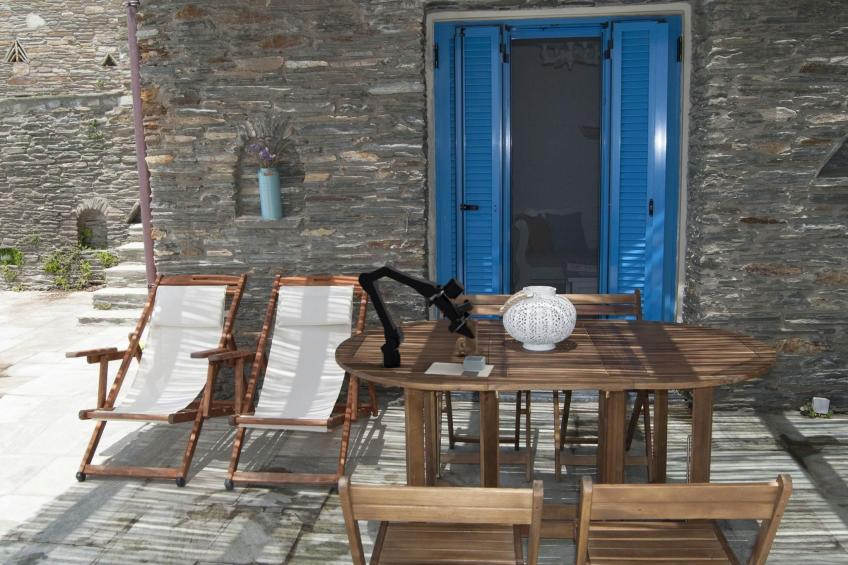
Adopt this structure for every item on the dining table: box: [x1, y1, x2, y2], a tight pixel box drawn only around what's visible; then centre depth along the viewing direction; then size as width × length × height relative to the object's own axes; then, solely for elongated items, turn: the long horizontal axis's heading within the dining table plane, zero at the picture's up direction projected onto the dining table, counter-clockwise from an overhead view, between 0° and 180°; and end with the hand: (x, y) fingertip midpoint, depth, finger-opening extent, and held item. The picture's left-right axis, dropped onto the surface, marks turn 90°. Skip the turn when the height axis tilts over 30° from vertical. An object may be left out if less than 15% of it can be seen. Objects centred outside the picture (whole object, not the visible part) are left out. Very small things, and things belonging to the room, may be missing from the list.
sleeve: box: [462, 355, 486, 371], centre depth 302 cm, size 7×7×4 cm
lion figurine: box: [455, 337, 468, 357], centre depth 322 cm, size 15×5×9 cm, turn 153°
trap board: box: [424, 361, 495, 378], centre depth 300 cm, size 24×16×1 cm, turn 76°
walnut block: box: [465, 318, 479, 356], centre depth 300 cm, size 4×4×13 cm
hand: (475, 337), depth 300 cm, fingers closed on walnut block, 4 cm apart
